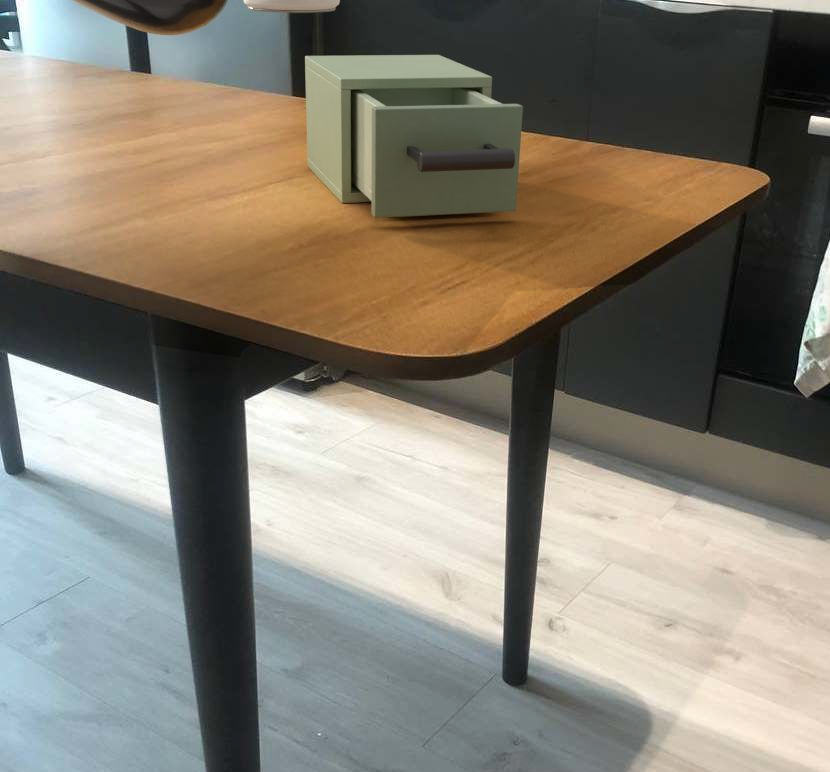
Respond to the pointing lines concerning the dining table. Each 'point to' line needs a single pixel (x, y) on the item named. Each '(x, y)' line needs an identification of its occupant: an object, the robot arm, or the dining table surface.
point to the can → (292, 5)
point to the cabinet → (333, 103)
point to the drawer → (434, 151)
